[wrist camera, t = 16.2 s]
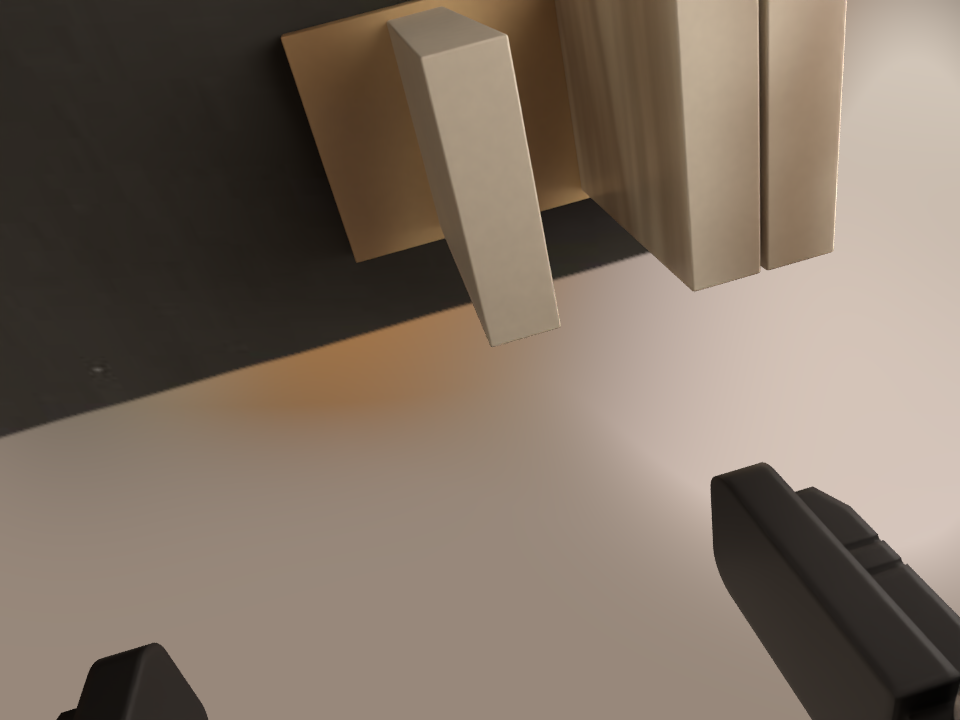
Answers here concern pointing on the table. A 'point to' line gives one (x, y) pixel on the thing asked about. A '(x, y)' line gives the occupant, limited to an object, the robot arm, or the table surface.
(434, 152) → the cream book
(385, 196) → the cream book rack
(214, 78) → the table surface
